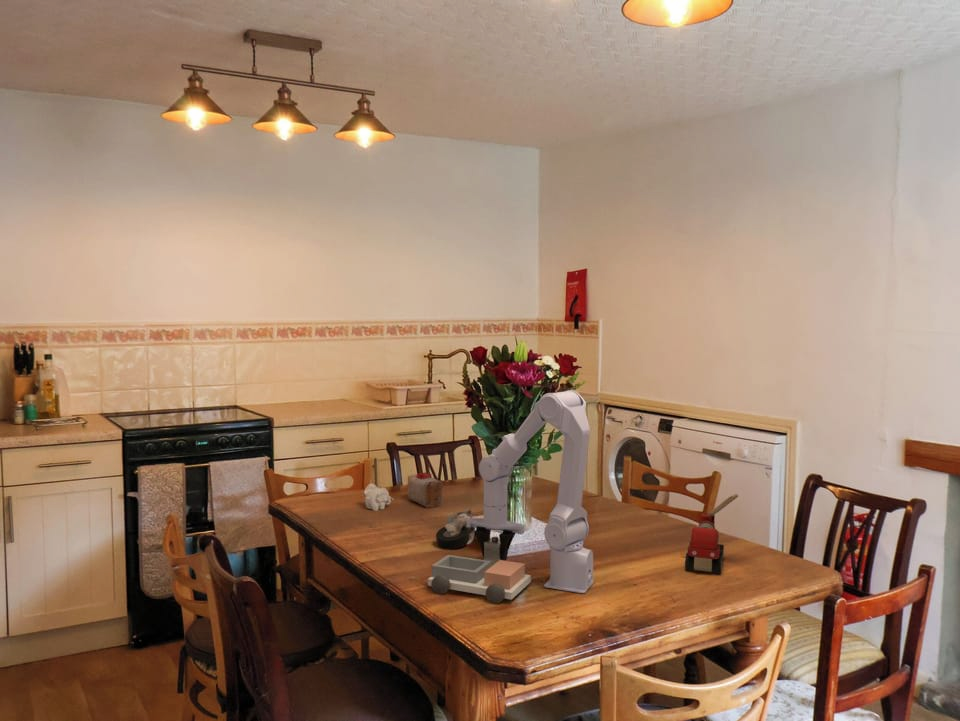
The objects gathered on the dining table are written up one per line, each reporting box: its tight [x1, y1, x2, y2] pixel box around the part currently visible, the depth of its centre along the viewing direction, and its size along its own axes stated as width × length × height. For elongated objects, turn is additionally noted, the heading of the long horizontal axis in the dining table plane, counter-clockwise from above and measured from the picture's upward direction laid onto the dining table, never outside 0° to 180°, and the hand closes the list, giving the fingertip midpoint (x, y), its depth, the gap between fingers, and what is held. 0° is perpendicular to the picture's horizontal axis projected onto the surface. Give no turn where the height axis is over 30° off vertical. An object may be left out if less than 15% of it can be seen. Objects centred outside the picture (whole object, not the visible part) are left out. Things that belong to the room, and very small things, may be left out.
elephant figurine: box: [364, 483, 395, 512], centre depth 250 cm, size 8×10×7 cm
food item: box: [407, 471, 443, 509], centre depth 257 cm, size 14×8×10 cm, turn 32°
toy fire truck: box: [684, 493, 739, 575], centre depth 199 cm, size 11×16×18 cm
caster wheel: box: [435, 509, 476, 550], centre depth 215 cm, size 7×12×10 cm
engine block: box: [483, 536, 507, 567], centre depth 198 cm, size 4×4×7 cm
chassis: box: [427, 554, 532, 605], centre depth 182 cm, size 20×14×6 cm
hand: (494, 559), depth 198 cm, fingers closed on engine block, 4 cm apart
